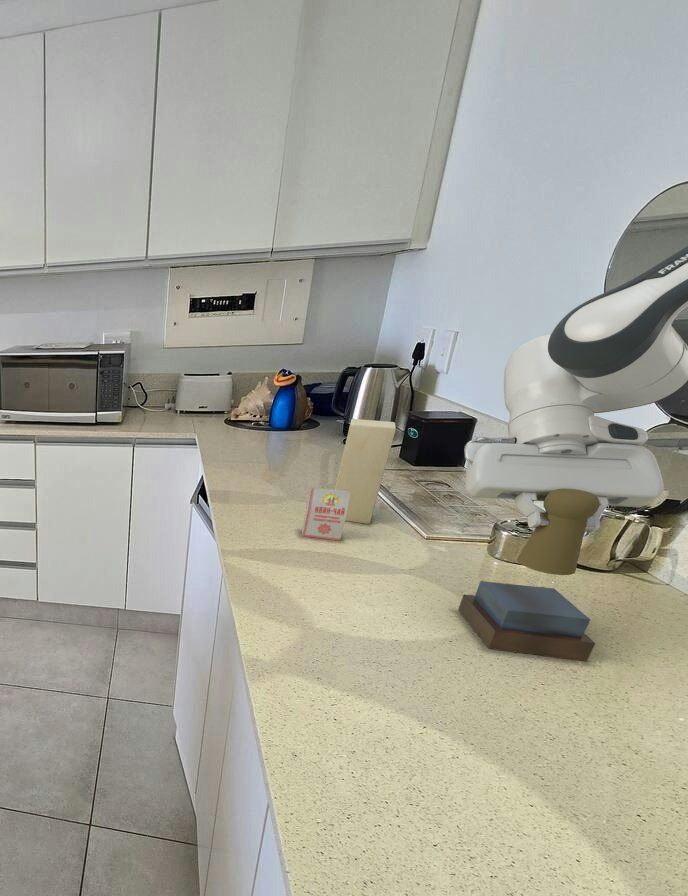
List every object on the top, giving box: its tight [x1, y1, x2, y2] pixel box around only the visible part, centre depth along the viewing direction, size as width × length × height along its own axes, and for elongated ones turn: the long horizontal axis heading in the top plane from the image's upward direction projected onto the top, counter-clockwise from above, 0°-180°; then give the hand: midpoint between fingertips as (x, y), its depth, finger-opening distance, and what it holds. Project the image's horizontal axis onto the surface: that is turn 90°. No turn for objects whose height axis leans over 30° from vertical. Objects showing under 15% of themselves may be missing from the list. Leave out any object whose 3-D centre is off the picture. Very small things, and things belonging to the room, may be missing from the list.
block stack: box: [457, 580, 596, 662], centre depth 84 cm, size 11×11×6 cm
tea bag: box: [301, 487, 351, 542], centre depth 118 cm, size 4×7×10 cm, turn 64°
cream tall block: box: [333, 418, 397, 525], centre depth 124 cm, size 8×7×21 cm
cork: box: [516, 489, 600, 576], centre depth 79 cm, size 6×6×11 cm
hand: (564, 528), depth 78 cm, fingers closed on cork, 4 cm apart
